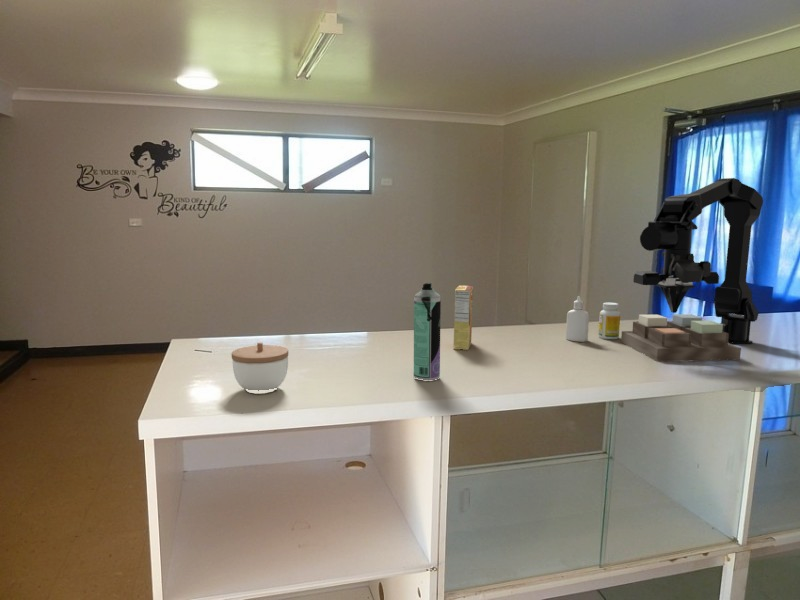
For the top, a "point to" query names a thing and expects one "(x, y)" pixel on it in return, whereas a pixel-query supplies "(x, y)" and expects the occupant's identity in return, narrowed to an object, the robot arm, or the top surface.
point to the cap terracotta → (668, 330)
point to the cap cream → (652, 320)
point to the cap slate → (685, 319)
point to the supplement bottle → (609, 321)
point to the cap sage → (706, 326)
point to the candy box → (463, 317)
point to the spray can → (427, 333)
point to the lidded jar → (260, 366)
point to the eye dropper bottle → (577, 323)
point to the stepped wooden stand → (680, 344)
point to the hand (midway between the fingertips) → (673, 312)
